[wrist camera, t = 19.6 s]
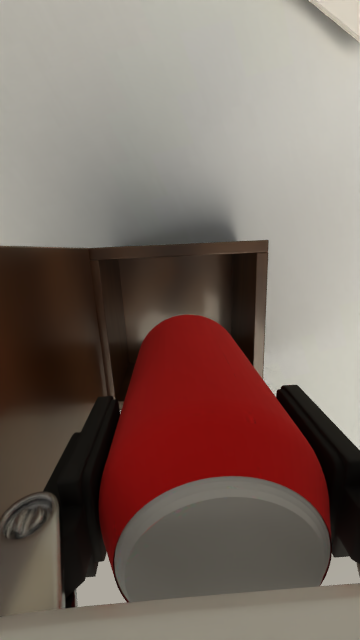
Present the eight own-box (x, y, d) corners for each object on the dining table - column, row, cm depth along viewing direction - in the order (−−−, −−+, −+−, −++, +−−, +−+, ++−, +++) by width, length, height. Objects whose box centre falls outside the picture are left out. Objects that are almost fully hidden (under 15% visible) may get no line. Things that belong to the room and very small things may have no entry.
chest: (238, 243, 28) (269, 239, 20) (237, 360, 32) (262, 401, 23) (110, 248, 28) (84, 248, 19) (123, 367, 32) (106, 411, 23)
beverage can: (182, 289, 16) (216, 392, 4) (253, 350, 17) (427, 557, 6) (120, 361, 17) (17, 597, 5) (191, 413, 18) (232, 698, 7)
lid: (-152, 241, 5) (-474, 255, 5) (8, 689, 8) (-171, 704, 8) (88, 248, 19) (9, 251, 19) (109, 414, 22) (44, 418, 22)
